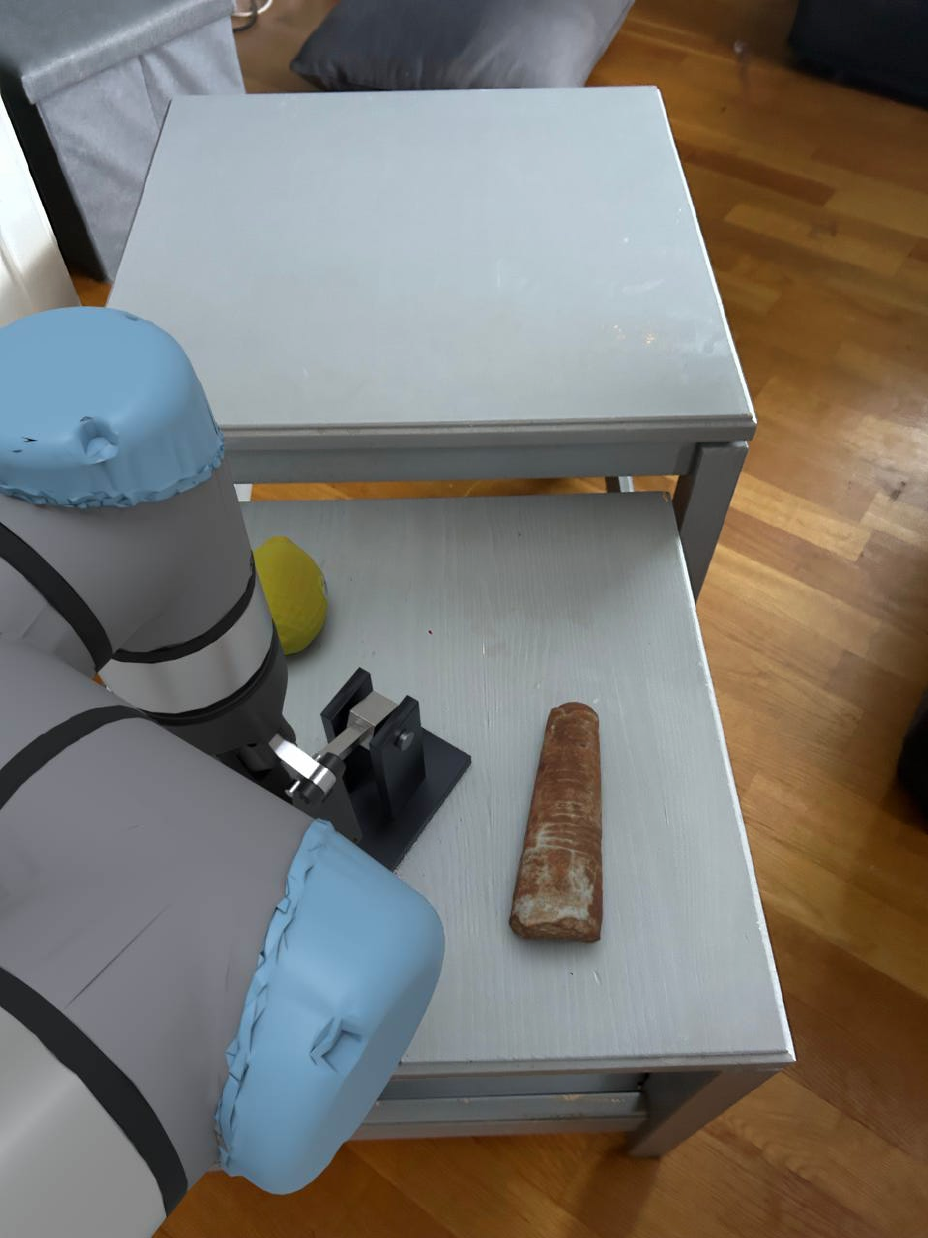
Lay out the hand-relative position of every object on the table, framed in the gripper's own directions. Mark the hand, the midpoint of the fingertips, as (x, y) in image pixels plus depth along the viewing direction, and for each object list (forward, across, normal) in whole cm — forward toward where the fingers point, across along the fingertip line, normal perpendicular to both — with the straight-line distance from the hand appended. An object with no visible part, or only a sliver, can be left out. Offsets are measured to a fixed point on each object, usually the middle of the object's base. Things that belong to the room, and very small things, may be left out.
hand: (278, 843), depth 60 cm
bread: (+10, -13, -15) cm, 22 cm away
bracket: (+10, 0, -10) cm, 15 cm away
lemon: (+10, +16, -18) cm, 26 cm away
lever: (-1, 0, -5) cm, 5 cm away
